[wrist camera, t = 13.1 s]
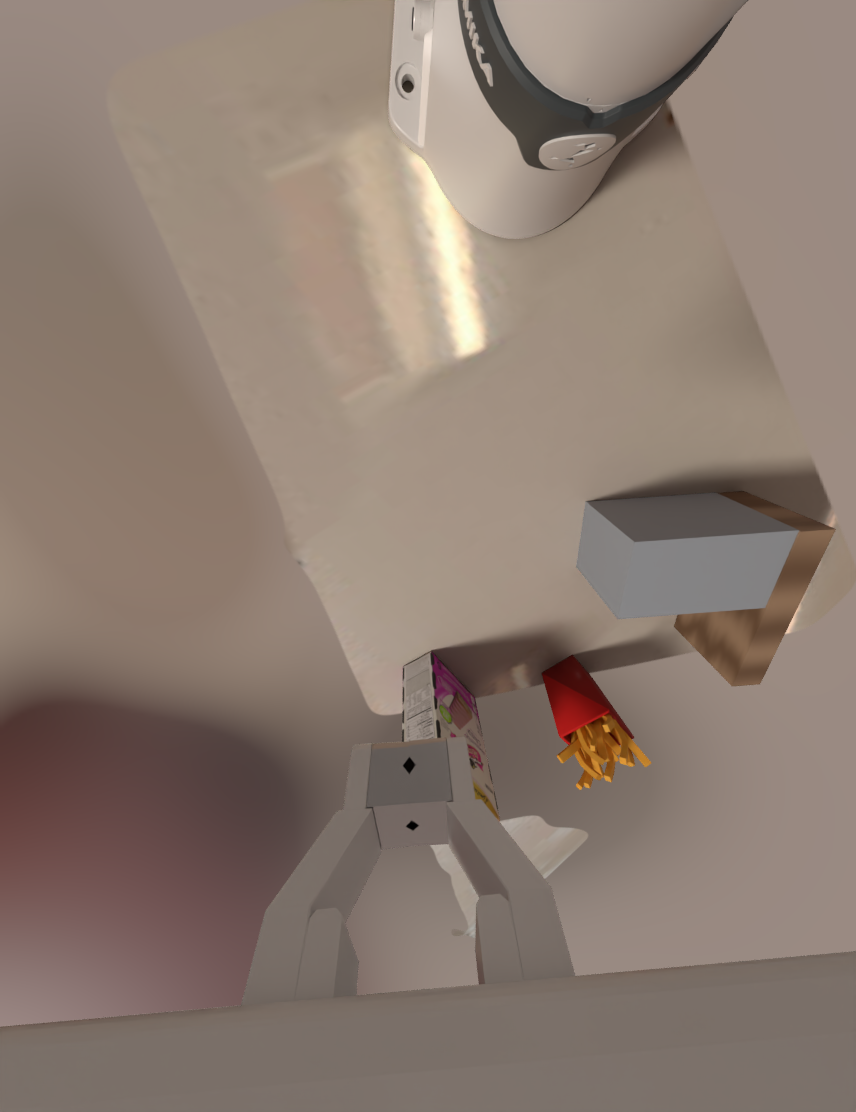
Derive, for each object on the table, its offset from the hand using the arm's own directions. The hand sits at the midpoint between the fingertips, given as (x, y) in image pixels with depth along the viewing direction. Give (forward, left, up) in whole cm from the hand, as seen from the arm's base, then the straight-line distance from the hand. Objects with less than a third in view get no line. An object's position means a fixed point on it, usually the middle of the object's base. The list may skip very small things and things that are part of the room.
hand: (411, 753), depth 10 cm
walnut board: (+15, +34, -31) cm, 48 cm away
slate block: (+10, +25, -31) cm, 41 cm away
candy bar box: (+30, +2, -31) cm, 43 cm away
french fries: (+30, +18, -31) cm, 47 cm away
